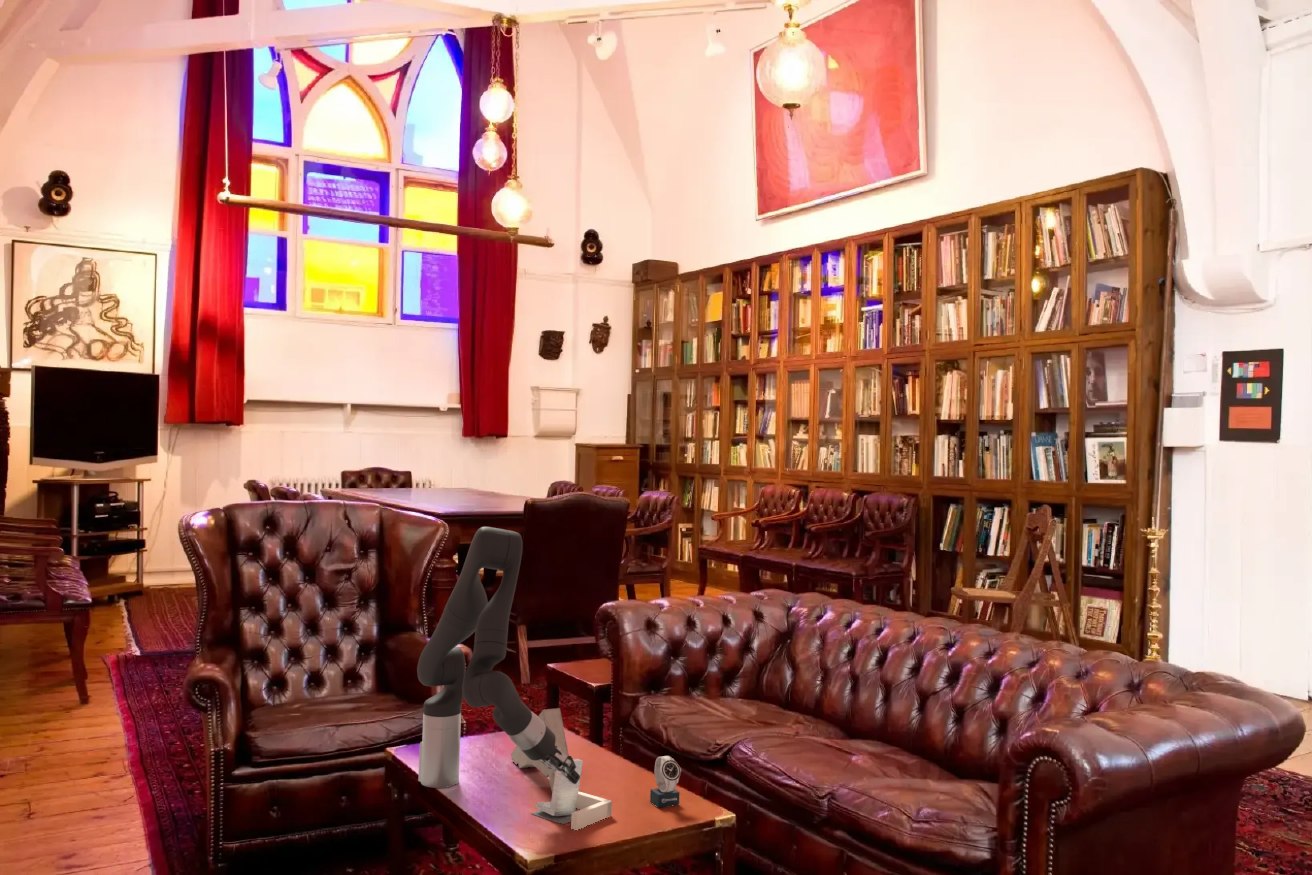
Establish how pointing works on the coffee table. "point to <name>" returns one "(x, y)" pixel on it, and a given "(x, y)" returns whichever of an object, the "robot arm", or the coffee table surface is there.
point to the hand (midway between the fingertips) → (573, 778)
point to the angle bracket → (563, 794)
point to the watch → (665, 782)
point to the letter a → (556, 726)
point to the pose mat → (553, 817)
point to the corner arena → (590, 810)
